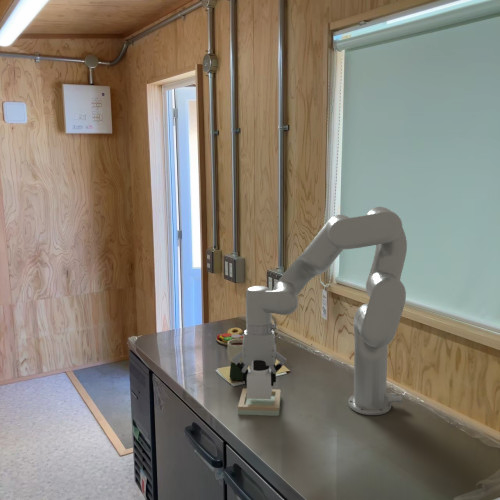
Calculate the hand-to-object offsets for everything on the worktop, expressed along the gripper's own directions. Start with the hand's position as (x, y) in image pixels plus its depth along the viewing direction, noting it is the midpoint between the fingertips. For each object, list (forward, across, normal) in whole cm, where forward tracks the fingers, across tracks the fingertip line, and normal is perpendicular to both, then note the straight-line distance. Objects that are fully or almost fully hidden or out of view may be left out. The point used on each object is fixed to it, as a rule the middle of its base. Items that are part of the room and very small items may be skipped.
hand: (259, 383), depth 159 cm
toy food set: (+8, +16, -55) cm, 58 cm away
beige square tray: (+7, 0, 0) cm, 7 cm away
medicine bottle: (+4, 0, 0) cm, 4 cm away
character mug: (+7, +9, -19) cm, 22 cm away
